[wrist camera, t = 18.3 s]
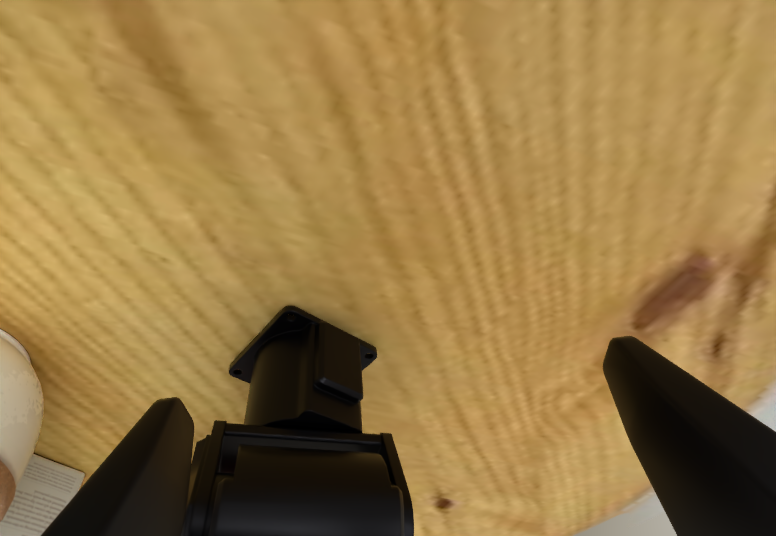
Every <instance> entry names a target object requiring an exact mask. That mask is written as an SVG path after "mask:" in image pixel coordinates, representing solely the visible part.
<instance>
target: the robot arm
mask: <svg viewBox="0 0 776 536" xmlns="http://www.w3.org/2000/svg"><path fill="white" fill-rule="evenodd" d="M288 314H293V316H290V315H288ZM367 353H370V354H367ZM376 358H377V350H376V348H375V347H374V346H372V345H370V344H368V343H366V342H364V341H362V340H360V339H358V338H356V337H354V336H352V335H350V334H348V333H347V332H345V331H343V330H341V329H339V328H337V327H335V326H333V325H331V324H329V323H327V322H325V321H323V320H321V319H319V318H317V317H315V316H313V315H311V314H309V313H307V312H305V311H303V310H301V309H300V308H298V307H295V306H286V307H285V308H283V309H282V310H281V311H280V312H279V313H278V315H277V316H276V317H275V318H274V319H273V320H272V321H271V322H270V323H269V324H268V325H267V326H266V327H265V328H264V329H263V330H262V332H261V333H260V334H259V335H258V336H257V337H256V338H255V339H254V340H253V341H252V342H251V343H250V344H249V345H248V346H247V347H246V349H245V350H244V351H243V352H242V353H241V354H240V355H239V356H238V357H237V358H236V359H235V360H234V361H233V362H232V363H231V365H230V368H229V374H230V375H231V376H233V377H235V378H238V379H240V380H243V381H245V382H248V383H250V390H249V396H248V402H247V408H246V415H245V421H244V424H231V423H226V421H217V420H215V421H214V425H213V429H212V433H211V435H207V436H206V438H205V439H203V440H200V441H198V442H197V443H196V447H195V451H194V456H193V460H192V464H191V459H192V448H193V437H194V423H193V420H192V417H191V416H190V414H189V413H188V411H187V409H186V408H185V406H184V404H183V403H182V401H181V400H180V399H179V398H177V397H172V398H165V399H160V400H157V401H156V402H155V403H154V404H153V405H152V406H151V407H150V408H149V409H148V410H147V412H146V413H145V414H144V415H143V416H142V417H141V419H140V420H139V421H138V422H137V423H136V424H135V426H134V427H133V428H132V429H131V430H130V431H129V433H128V434H127V435H126V436H125V437H124V439H123V440H122V441H121V442H120V443H119V444H118V446H117V447H116V448H115V449H114V450H113V451H112V453H111V454H110V455H109V456H108V457H107V458H106V460H105V461H104V462H103V463H102V464H101V465H100V467H99V468H98V469H97V470H96V471H95V472H94V474H93V475H92V476H91V477H90V478H89V479H88V481H87V482H86V483H85V484H84V485H83V486H82V488H81V489H80V490H79V491H78V492H77V493H76V495H75V496H74V497H73V498H72V499H71V500H70V502H69V503H68V504H67V505H66V506H65V508H64V509H63V510H62V511H61V512H60V513H59V515H58V516H57V517H56V518H55V519H54V520H53V522H52V523H51V524H50V525H49V526H48V527H47V529H46V530H45V531H44V532H43V533H42V534H41V536H414V519H413V508H412V501H411V497H410V493H409V490H408V487H407V483H406V480H405V477H404V474H403V470H402V467H401V464H400V460H399V457H398V454H397V451H396V447H395V444H394V441H393V438H392V434H389V433H380V435H378V434H365V433H362V419H361V403H360V401H361V400H362V399H363V384H362V370H363V369H365V368H366V367H367V366H368V365H369V364H370V363H372V362H373V361H374V360H375V359H376ZM603 371H604V375H605V378H606V380H607V383H608V385H609V388H610V391H611V393H612V396H613V399H614V401H615V404H616V407H617V409H618V412H619V415H620V417H621V420H622V423H623V425H624V428H625V431H626V433H627V435H628V438H629V440H630V442H631V445H632V447H633V449H634V451H635V453H636V455H637V457H638V459H639V461H640V463H641V465H642V467H643V469H644V471H645V473H646V475H647V477H648V479H649V481H650V483H651V485H652V486H653V488H654V490H655V492H656V494H657V496H658V498H659V500H660V502H661V504H662V506H663V508H664V510H665V512H666V514H667V516H668V518H669V520H670V522H671V524H672V526H673V528H674V530H675V532H676V534H677V536H776V432H775V431H774V430H772V429H771V428H769V427H768V426H766V425H765V424H763V423H762V422H760V421H759V420H757V419H756V418H754V417H753V416H751V415H750V414H748V413H747V412H745V411H744V410H742V409H741V408H739V407H738V406H736V405H735V404H733V403H732V402H730V401H729V400H727V399H726V398H724V397H723V396H721V395H720V394H718V393H717V392H715V391H714V390H713V389H711V388H710V387H708V386H707V385H705V384H704V383H702V382H701V381H699V380H698V379H696V378H695V377H693V376H692V375H690V374H689V373H687V372H686V371H684V370H683V369H681V368H680V367H678V366H677V365H675V364H674V363H672V362H671V361H669V360H668V359H666V358H665V357H663V356H662V355H660V354H659V353H657V352H656V351H654V350H653V349H651V348H650V347H648V346H647V345H645V344H644V343H643V342H641V341H640V340H638V339H636V338H635V337H632V336H624V337H617V338H613V339H612V340H611V341H610V343H609V346H608V349H607V352H606V355H605V358H604V362H603Z"/></svg>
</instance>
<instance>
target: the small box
mask: <svg viewBox="0 0 776 536" xmlns="http://www.w3.org/2000/svg"><path fill="white" fill-rule="evenodd" d="M84 477H85V473H83V472H81V471H78V470H75V469H72V468H69V467H67V466H64V465H61V464H59V463H56V462H53V461H51V460H48V459H46V458H43V457H40V456H38V455H35V454H33V455H32V457H31V460H30V462H29V464H28V466H27V468H26V470H25V472H24V474H23V476H22V478H21V480H20V482H19V483H18V485H17V487H16V491H15V496H14V499H13V501H12V503H11V505H10V507H9V509H8V511H7V512H6V514H5V516H4V518H3V520H2V521H1V522H0V536H41V534H42V533H43V532H44V531H45V530H46V529H47V527H48V526H49V525H50V524H51V523H52V522H53V520H54V519H55V518H56V517H57V516H58V515H59V513H60V512H61V511H62V510H63V509H64V508H65V506H66V505H67V504H68V503H69V502H70V500H71V499H72V498H73V497H74V496H75V495H76V493H77V492H78V490H79V488H80V486H81V484H82V481H83V479H84Z"/></svg>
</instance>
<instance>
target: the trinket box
mask: <svg viewBox="0 0 776 536" xmlns="http://www.w3.org/2000/svg"><path fill="white" fill-rule="evenodd" d="M43 413H44V400H43V393H42V388H41V384H40V381H39V379H38V377H37V375H36V373H35V371H34V369H33V367H32V366H31V361H30V358H29V355H28V353H27V352H26V350H25V349H24V347H23V346H22V345H21V344H20V343H19V342H18V341H17V340H16V339H14V338H13V337H12V336H11V335H9V334H8V333H6V332H5V331H3V330H1V329H0V522H1V521H2V520H3V518H4V516H5V514H6V512H7V511H8V509H9V507H10V505H11V503H12V501H13V499H14V496H15V491H16V487H17V485H18V483H19V482H20V480H21V478H22V476H23V474H24V472H25V470H26V468H27V466H28V464H29V462H30V460H31V457H32V455H33V452H34V449H35V447H36V444H37V441H38V438H39V434H40V430H41V425H42V420H43Z"/></svg>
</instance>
